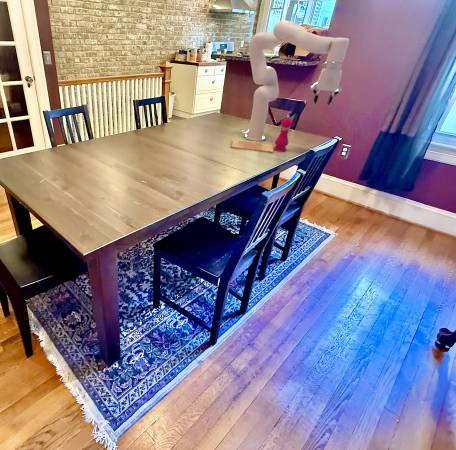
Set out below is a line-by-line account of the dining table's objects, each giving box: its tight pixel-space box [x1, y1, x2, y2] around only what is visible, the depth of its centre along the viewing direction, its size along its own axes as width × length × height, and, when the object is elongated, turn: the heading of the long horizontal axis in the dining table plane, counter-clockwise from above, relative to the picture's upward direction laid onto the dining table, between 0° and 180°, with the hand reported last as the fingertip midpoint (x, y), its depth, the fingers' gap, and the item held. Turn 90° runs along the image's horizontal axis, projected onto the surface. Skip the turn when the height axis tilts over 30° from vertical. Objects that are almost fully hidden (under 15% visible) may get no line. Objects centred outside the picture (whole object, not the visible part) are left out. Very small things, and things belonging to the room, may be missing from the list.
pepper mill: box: [273, 114, 293, 153], centre depth 177 cm, size 7×7×20 cm
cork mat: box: [231, 139, 274, 154], centre depth 185 cm, size 24×14×1 cm, turn 73°
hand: (321, 103), depth 164 cm, fingers open, 5 cm apart
